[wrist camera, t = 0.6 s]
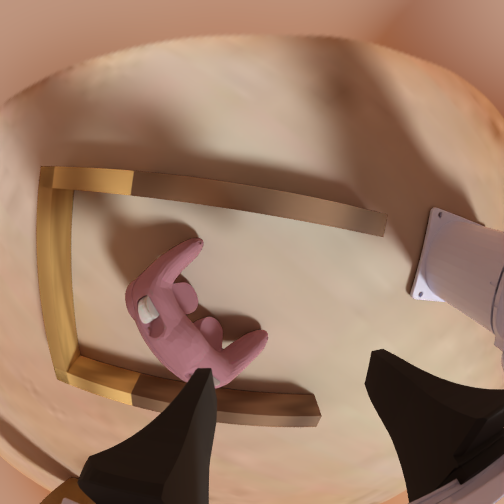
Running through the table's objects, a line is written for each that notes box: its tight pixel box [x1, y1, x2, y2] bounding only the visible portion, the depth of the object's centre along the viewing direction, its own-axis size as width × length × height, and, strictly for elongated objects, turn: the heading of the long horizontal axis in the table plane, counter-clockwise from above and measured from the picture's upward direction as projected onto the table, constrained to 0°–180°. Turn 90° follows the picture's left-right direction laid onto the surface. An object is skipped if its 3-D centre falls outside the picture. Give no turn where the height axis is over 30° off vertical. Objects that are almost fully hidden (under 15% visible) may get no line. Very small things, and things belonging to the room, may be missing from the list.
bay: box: [36, 166, 388, 427], centre depth 18 cm, size 24×18×3 cm
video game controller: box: [125, 238, 268, 389], centre depth 17 cm, size 10×5×7 cm, turn 32°
